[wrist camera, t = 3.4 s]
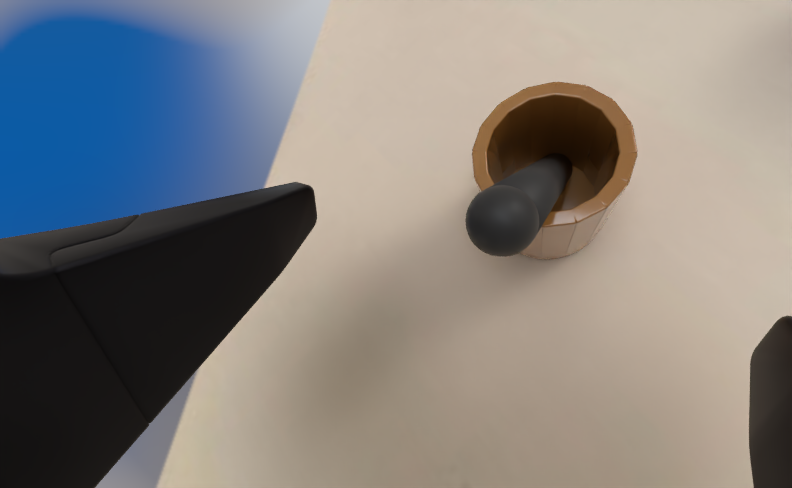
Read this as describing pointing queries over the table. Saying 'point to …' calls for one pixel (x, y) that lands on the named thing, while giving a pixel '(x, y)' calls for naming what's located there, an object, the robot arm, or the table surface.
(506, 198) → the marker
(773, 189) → the table surface
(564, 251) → the brown wooden cup
